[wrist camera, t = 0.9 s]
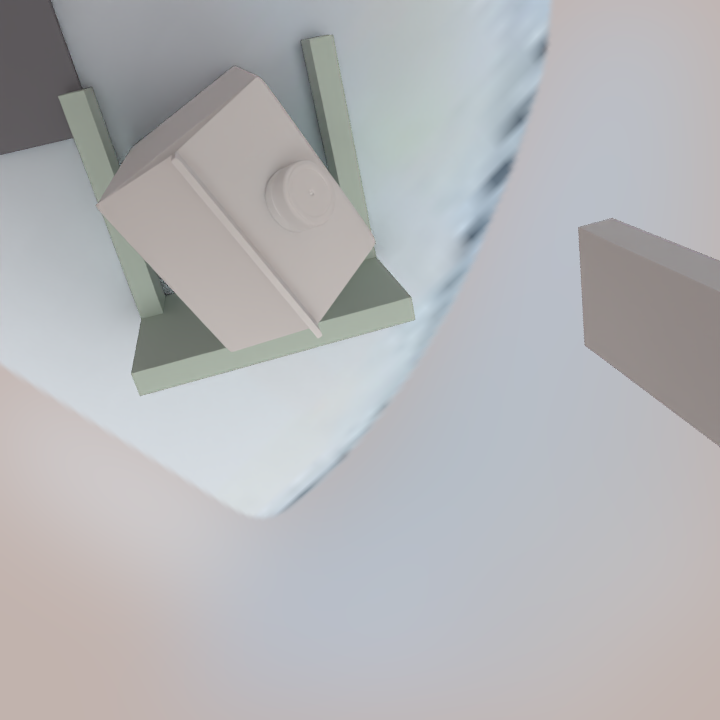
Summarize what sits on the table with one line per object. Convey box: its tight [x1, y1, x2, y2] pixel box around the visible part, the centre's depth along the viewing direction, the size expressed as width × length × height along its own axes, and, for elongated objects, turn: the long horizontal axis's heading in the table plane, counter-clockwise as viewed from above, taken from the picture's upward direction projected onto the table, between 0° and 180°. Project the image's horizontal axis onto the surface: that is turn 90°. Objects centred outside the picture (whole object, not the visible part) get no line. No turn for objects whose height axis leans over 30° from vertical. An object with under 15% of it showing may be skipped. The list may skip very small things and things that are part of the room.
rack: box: [58, 35, 415, 396], centre depth 34 cm, size 13×13×10 cm
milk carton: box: [96, 66, 376, 352], centre depth 29 cm, size 7×7×19 cm
